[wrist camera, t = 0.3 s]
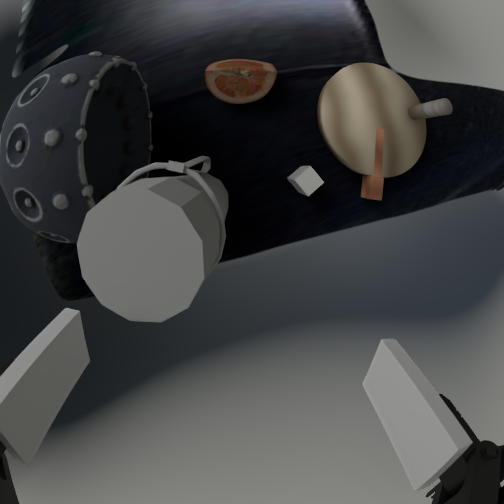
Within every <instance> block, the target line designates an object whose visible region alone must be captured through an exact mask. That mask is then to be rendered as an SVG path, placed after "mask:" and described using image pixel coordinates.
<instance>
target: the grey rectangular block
mask: <svg viewBox="0 0 504 504" xmlns="http://www.w3.org/2000/svg"><path fill="white" fill-rule="evenodd" d="M287 179H288V180H289V181H290V183H291V184H292V185H293V186H294V187H295V188H296V190H297V191H298V192H299V193H301V194H304V195H306V196H309V195H310V194H312V193H313V192H314V191H315V190H316V189H317V188H318V187H320V186H321V185H322V184H323V183H324V182H323V181H322V179H321V178H320V177H319V176H318V174H317V173H316V172H315V171H314V170H313V168H312V167H311V166H301V167H300V168H298V169H297V170H296V171H295V172H294V173H293V174H291V175H290V176H289V177H288V178H287Z"/></svg>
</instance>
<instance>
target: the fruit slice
mask: <svg viewBox="0 0 504 504" xmlns="http://www.w3.org/2000/svg"><path fill="white" fill-rule="evenodd" d="M276 74H277V71H276V69H275V67H273V65H272V64H269V63H266V62H260V61H255V60H247V59H230V60H223V61H219V62H215V63H212V64H210V65H209V66H208V67H207V68H206V70H205V80H206V84H207V87H208V89H209V90H210V91H211V93H212V94H213V95H214V96H215V97H217V98H218V99H220V100H222V101H225V102H228V103H234V104H244V103H249V102H253V101H256V100H258V99H260V98H262V97H263V96H265V95H266V94H267V93H268V92H269V91H270V89H271V88H272V86H273V84H274V82H275V79H276Z"/></svg>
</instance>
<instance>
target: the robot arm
mask: <svg viewBox="0 0 504 504" xmlns="http://www.w3.org/2000/svg"><path fill="white" fill-rule="evenodd" d="M89 362H90V359H89V355H88V351H87V346H86V342H85V338H84V332H83V327H82V322H81V316H80V311H77V310H73V309H69V308H65V309H64V310H63V311H62V312H61V313H60V314H59V315H58V316H57V317H56V318H55V319H54V320H53V321H52V322H51V323H50V324H49V325H48V326H47V327H46V328H45V329H44V330H43V331H42V332H41V333H40V334H39V335H38V336H37V337H36V338H35V339H34V340H33V341H32V342H31V343H30V344H29V345H28V347H27V348H26V349H25V350H24V351H23V352H22V353H21V354H20V355H19V356H18V357H17V358H16V359H15V360H14V359H10V360H8V361H7V362H5V363H3V364H2V365H1V366H0V504H19V501H18V498H17V495H16V492H15V489H14V485H13V482H12V478H11V474H10V470H9V466H8V462H7V458H6V456H5V454H4V451H5V450H6V449H7V450H8V451H9V452H10V454H11V455H12V456H13V457H14V458H15V459H17V460H19V461H20V462H22V463H24V464H25V465H27V466H30V464H31V461H32V459H33V457H34V456H35V454H36V452H37V450H38V448H39V446H40V444H41V442H42V440H43V438H44V436H45V435H46V433H47V431H48V429H49V427H50V425H51V424H52V422H53V420H54V419H55V417H56V415H57V413H58V412H59V410H60V408H61V406H62V405H63V403H64V401H65V400H66V398H67V396H68V395H69V393H70V391H71V390H72V388H73V387H74V385H75V383H76V382H77V380H78V378H79V377H80V375H81V374H82V372H83V371H84V369H85V368H86V366H87V365H88V363H89ZM362 385H363V387H364V389H365V391H366V393H367V395H368V397H369V399H370V401H371V402H372V405H373V406H374V408H375V410H376V412H377V414H378V416H379V418H380V420H381V422H382V424H383V426H384V428H385V430H386V432H387V434H388V436H389V438H390V441H391V442H392V445H393V447H394V449H395V451H396V453H397V455H398V457H399V459H400V461H401V463H402V466H403V468H404V470H405V472H406V474H407V476H408V478H409V481H410V483H411V485H412V487H413V489H414V491H418V490H420V489H423V488H425V487H427V486H429V485H431V484H432V483H433V482H434V481H435V480H436V479H438V478H440V480H441V482H440V483H439V484H438V485H436V486H435V487H434V488H433V489H432V490H430V491H429V492H428V493H427V495H426V497H429V496H430V495H431V494H432V493H434V491H435V494H434V495H433V496H432V497H431V498H433V501H432V504H504V486H503V487H501V485H500V482H502V481H503V480H504V445H502V446H497V445H496V444H494V443H493V442H491V441H486V440H484V441H482V442H480V441H479V439H477V437H476V435H475V434H474V432H473V431H472V430H471V429H470V427H469V425H468V424H467V423H466V421H465V420H464V419H463V417H461V414H460V413H459V412H458V411H456V408H455V407H454V405H453V404H452V402H451V401H450V400H449V399H447V398H446V397H445V396H443V395H442V394H438V393H437V392H436V390H435V389H434V388H433V386H432V385H431V384H430V382H429V381H428V380H427V379H426V377H425V376H424V375H423V373H422V372H421V371H420V370H419V368H418V367H417V366H416V364H415V363H414V362H413V361H412V359H411V358H410V357H409V356H408V355H407V353H406V352H405V351H404V349H403V348H402V347H401V346H400V345H399V343H398V342H397V341H396V340H395V339H382V340H381V342H380V345H379V347H378V349H377V352H376V354H375V357H374V359H373V361H372V364H371V366H370V368H369V371H368V373H367V375H366V377H365V379H364V382H363V384H362Z"/></svg>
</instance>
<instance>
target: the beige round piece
mask: <svg viewBox="0 0 504 504" xmlns="http://www.w3.org/2000/svg"><path fill="white" fill-rule="evenodd" d="M451 113H452V104H451V102H450V101H449V100H448V99H446V98H443V99H439V100H435V101H431V102H427V103H423V104H420V102H419V100H418V98H417V96H416V94H415V93H414V91H413V90H412V89H411V87H410V86H409V85H408V84H407V83H406V82H405V81H404V80H403V79H402V78H401V77H400V76H399V75H397V74H396V73H394V72H393V71H391V70H389V69H388V68H385V67H383V66H380V65H377V64H372V63H357V64H352V65H349V66H347V67H345V68H343V69H341V70H340V71H339V72H337V73H336V74H335V75H334V76H333V77H332V78H331V79H330V80H329V81H328V82H327V83H326V84H325V86H324V87H323V89H322V91H321V93H320V96H319V100H318V106H317V118H318V124H319V129H320V132H321V134H322V137H323V139H324V141H325V143H326V145H327V147H328V148H329V150H330V151H331V152H332V154H333V155H334V156H335V157H336V158H337V159H338V160H339V161H340V162H341V163H342V164H344V165H345V166H346V167H348V168H349V169H351V170H353V171H355V172H357V173H359V174H363V179H362V190H361V197H364V198H367V199H374V200H382V193H383V182H384V178H381V177H393V176H397V175H400V174H402V173H404V172H406V171H407V170H409V169H410V168H411V167H412V166H413V165H414V164H415V163H416V162H417V160H418V159H419V157H420V155H421V153H422V151H423V148H424V145H425V140H426V121H425V118H430V117H436V116H441V115H447V114H451Z"/></svg>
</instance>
